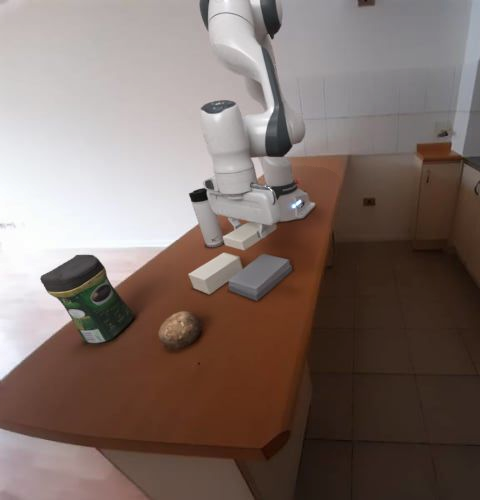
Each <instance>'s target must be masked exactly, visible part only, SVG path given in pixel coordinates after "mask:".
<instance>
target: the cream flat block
mask: <svg viewBox="0 0 480 500" xmlns="http://www.w3.org/2000/svg"><path fill="white" fill-rule="evenodd" d="M259 229H260V227H259V226H258V224H257V223H255V222H250V221H247V222H246V223H244V224H242V226H241V227H239V228H237V229H234V230H232V231H231V232H228V233H227V234H225V235H223V240H224V243H223V244H224V245H225V246H227V247H230V248H234V249H238V250H241V251H247V249H249V248H251V247H252V246H253V245H255V244H256V243H258V242H259V241H261V240H262V239H263V238H259V237H258V235H257V231H258V230H259ZM275 230H278V224H277V223H276V224H274V225H272V226H269V225H268V226H267V228H266V233H267V236H268V235H269V234H271V233H273V232H274V231H275Z"/></svg>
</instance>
